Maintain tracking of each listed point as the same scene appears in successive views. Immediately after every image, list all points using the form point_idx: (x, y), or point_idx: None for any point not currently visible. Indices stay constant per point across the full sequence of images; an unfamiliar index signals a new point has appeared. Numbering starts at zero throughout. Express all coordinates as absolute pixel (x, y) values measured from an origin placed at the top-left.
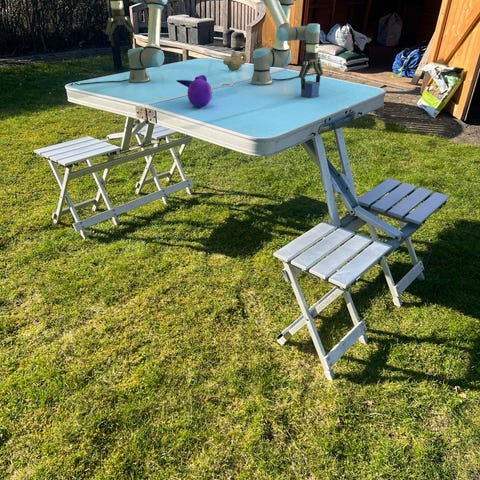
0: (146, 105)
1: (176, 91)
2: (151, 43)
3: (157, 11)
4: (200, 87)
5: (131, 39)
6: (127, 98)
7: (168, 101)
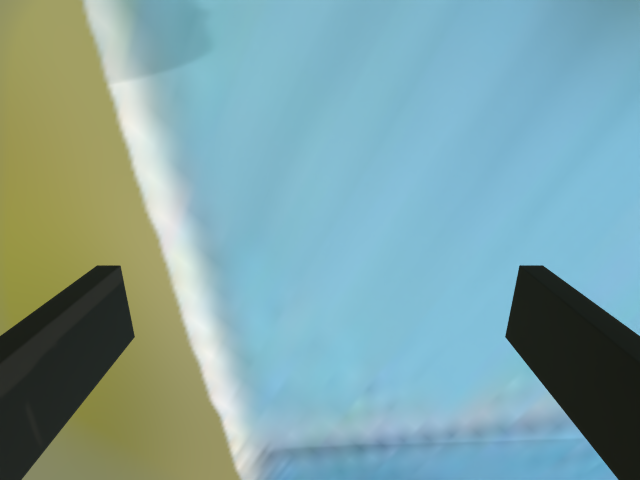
0: (248, 452)
1: None
2: None
3: None
4: None
5: (558, 385)
6: (238, 299)
7: (352, 456)
